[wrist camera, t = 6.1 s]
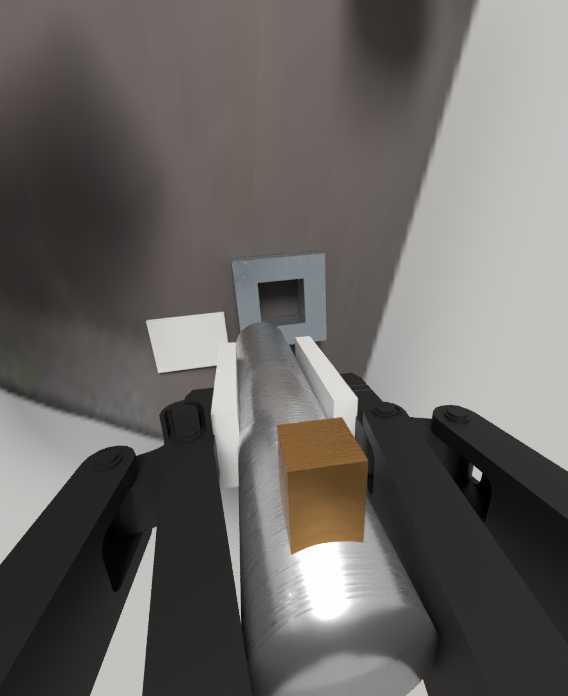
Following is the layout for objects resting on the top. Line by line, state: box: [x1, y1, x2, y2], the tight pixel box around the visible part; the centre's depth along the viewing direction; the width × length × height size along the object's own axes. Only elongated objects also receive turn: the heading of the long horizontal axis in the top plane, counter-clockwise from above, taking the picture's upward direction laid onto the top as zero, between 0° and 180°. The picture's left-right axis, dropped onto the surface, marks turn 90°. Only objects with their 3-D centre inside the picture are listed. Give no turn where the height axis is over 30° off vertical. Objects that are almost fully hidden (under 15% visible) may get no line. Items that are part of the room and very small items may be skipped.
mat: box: [146, 312, 228, 373], centre depth 34 cm, size 8×6×1 cm
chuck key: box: [236, 322, 438, 696], centre depth 12 cm, size 3×6×15 cm, turn 2°
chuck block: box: [231, 251, 326, 345], centre depth 33 cm, size 9×9×3 cm
